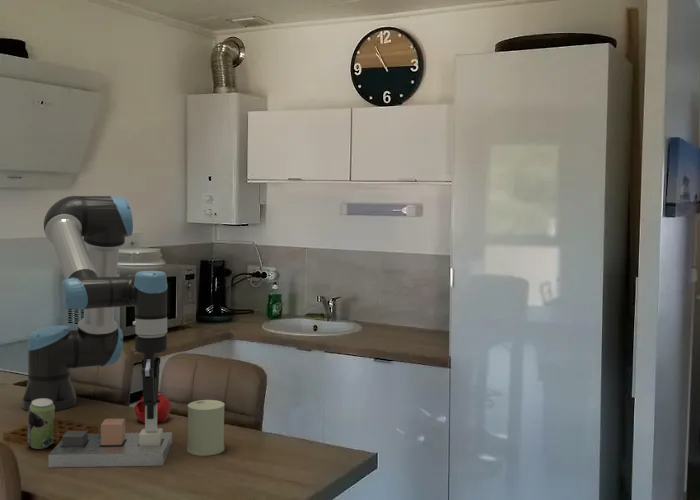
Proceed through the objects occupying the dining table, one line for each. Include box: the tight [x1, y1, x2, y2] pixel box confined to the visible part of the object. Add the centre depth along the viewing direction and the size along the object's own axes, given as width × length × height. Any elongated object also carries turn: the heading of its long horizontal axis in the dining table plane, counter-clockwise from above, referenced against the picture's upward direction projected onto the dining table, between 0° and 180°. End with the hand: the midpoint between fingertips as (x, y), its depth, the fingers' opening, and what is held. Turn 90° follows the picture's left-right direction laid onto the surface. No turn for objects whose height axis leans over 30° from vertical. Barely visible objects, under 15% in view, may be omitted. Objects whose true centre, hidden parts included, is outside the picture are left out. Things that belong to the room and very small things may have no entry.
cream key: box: [139, 427, 163, 446], centre depth 187 cm, size 5×5×5 cm
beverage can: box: [26, 398, 56, 450], centre depth 191 cm, size 6×7×12 cm
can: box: [186, 399, 226, 457], centre depth 191 cm, size 9×9×12 cm
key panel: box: [48, 431, 173, 469], centre depth 186 cm, size 16×26×3 cm, turn 96°
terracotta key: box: [100, 418, 126, 445], centre depth 186 cm, size 5×5×5 cm
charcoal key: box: [61, 430, 89, 447], centre depth 185 cm, size 5×5×5 cm
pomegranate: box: [134, 391, 172, 424], centre depth 215 cm, size 10×10×9 cm
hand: (151, 430), depth 186 cm, fingers closed
